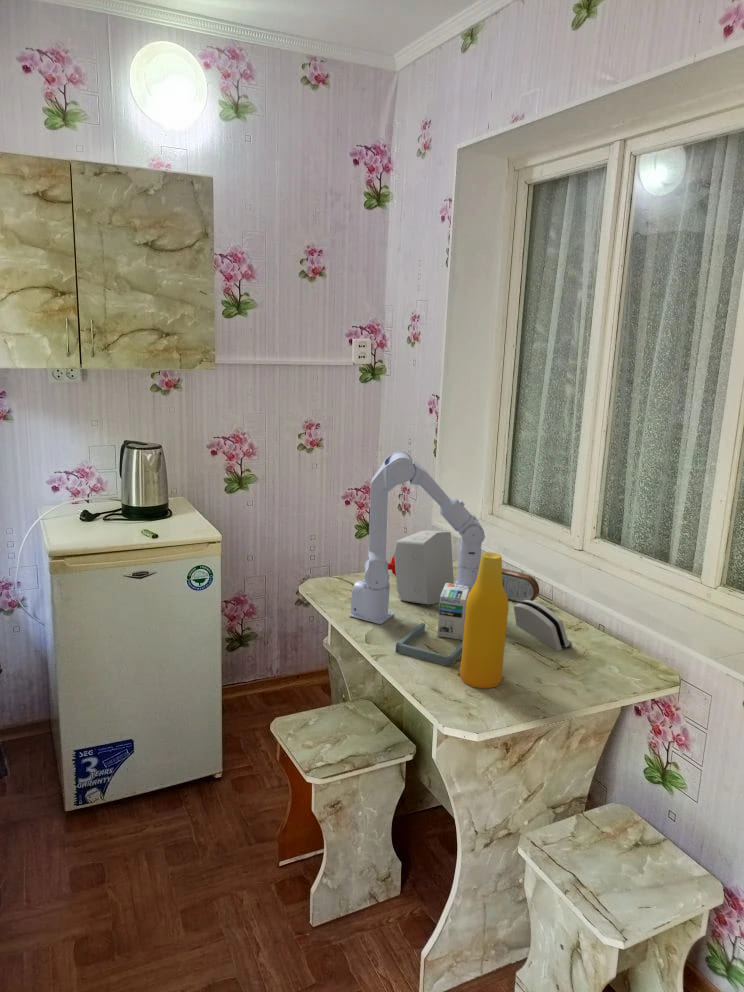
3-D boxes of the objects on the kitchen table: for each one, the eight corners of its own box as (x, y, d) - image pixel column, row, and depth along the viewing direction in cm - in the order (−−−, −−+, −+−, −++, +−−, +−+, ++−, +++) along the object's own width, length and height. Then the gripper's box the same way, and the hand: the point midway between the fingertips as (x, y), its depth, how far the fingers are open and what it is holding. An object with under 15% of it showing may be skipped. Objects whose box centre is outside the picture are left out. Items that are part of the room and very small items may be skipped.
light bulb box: (463, 640, 188) (466, 600, 185) (436, 637, 189) (439, 596, 187) (468, 624, 198) (471, 585, 196) (442, 620, 200) (445, 582, 197)
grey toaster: (574, 648, 187) (567, 614, 183) (559, 657, 185) (552, 623, 182) (530, 622, 201) (524, 590, 198) (516, 630, 200) (509, 598, 196)
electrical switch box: (411, 589, 227) (407, 524, 224) (454, 594, 218) (450, 527, 215) (383, 602, 215) (378, 534, 212) (428, 609, 207) (423, 538, 204)
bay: (395, 651, 180) (395, 644, 180) (421, 629, 193) (421, 622, 193) (450, 666, 174) (450, 658, 174) (473, 643, 187) (473, 635, 187)
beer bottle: (473, 692, 163) (484, 564, 156) (452, 672, 171) (462, 550, 164) (509, 685, 167) (522, 560, 160) (487, 667, 175) (498, 547, 168)
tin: (538, 604, 214) (541, 576, 212) (534, 607, 212) (537, 579, 210) (489, 592, 222) (491, 564, 220) (484, 595, 219) (487, 567, 217)
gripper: (473, 576, 189) (469, 627, 192) (492, 560, 202) (488, 608, 205) (447, 570, 192) (443, 620, 196) (467, 555, 205) (463, 603, 208)
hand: (464, 614), depth 200 cm, fingers closed
